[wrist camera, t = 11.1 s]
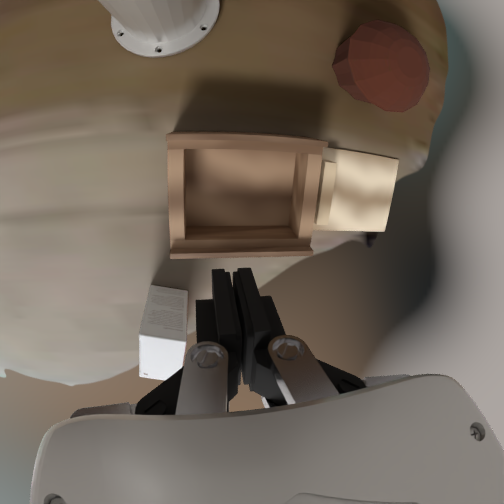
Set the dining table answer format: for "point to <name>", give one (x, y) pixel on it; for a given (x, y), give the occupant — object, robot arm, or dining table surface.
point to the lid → (354, 191)
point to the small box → (163, 333)
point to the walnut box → (242, 194)
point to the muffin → (383, 66)
